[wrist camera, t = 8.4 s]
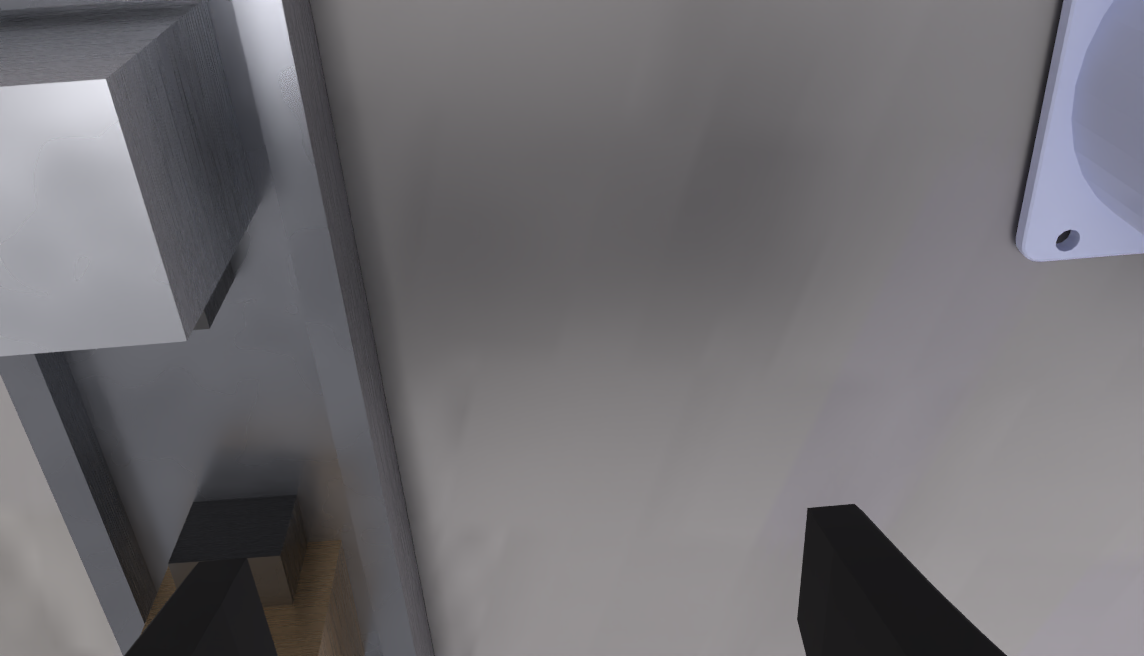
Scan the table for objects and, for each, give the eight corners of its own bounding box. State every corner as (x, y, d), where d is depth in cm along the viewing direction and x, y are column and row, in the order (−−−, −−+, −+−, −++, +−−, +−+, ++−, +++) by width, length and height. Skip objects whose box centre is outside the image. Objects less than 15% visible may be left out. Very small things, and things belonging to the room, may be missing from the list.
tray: (293, -82, 17) (268, -62, 15) (436, 667, 28) (431, 733, 26) (-102, -54, 17) (-176, -31, 15) (190, 689, 27) (168, 759, 25)
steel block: (206, -4, 17) (106, 79, 12) (274, 275, 20) (212, 421, 15) (-27, 13, 17) (-210, 102, 12) (75, 290, 19) (-44, 442, 15)
